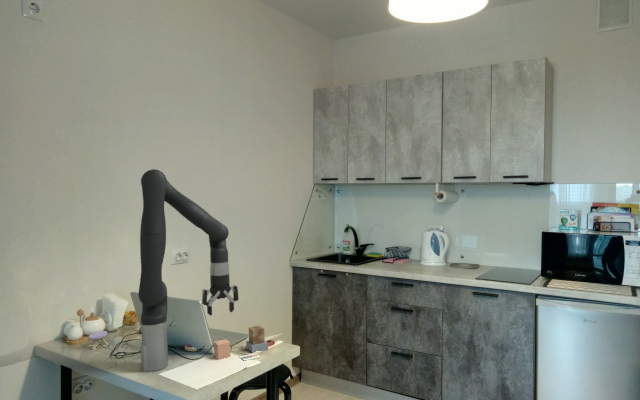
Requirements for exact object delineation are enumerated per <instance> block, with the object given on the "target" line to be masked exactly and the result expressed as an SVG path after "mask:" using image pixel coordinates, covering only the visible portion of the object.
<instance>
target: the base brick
mask: <svg viewBox="0 0 640 400" xmlns="http://www.w3.org/2000/svg"><path fill="white" fill-rule="evenodd" d="M245 347H247V348H248V349H249V350H250V351H251V352H252V353H251V352H250V351H249V350H248V351H249V352H250V353H251V354H254V353H253V352H256V351H261V352H265V351H269V342H268V341H266V340H265V343H261V344H256V345H253V344H251V343H250V342H249V340H246V341H245Z"/></svg>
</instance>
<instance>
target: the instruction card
mask: <svg viewBox="0 0 640 400" xmlns="http://www.w3.org/2000/svg"><path fill="white" fill-rule="evenodd" d="M239 358H240V359H241V358H242V359H243V360H244V361H243V360H242V359H241V360H242V361H243V362H245V360H246V361H251V360H255V359H258V358H261V356H260V355H259V354H257V353H250V354H245V355H241V356H239Z"/></svg>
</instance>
